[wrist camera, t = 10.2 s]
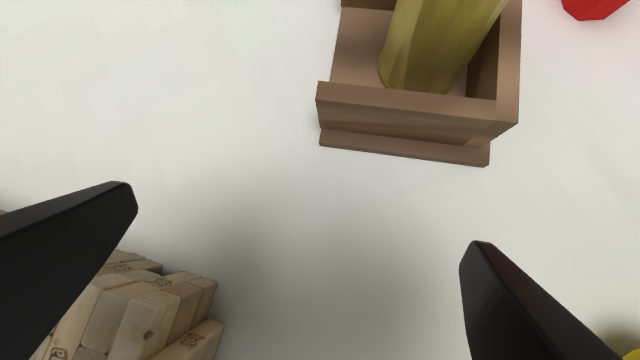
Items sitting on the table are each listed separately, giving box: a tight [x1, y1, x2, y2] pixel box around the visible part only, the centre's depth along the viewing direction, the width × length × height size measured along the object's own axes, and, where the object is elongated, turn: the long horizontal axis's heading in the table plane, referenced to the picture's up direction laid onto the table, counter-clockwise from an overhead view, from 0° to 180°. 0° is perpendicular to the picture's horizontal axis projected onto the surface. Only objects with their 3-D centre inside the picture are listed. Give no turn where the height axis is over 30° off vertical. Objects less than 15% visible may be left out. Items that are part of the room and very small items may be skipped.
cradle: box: [315, 0, 522, 168], centre depth 20 cm, size 14×12×5 cm
